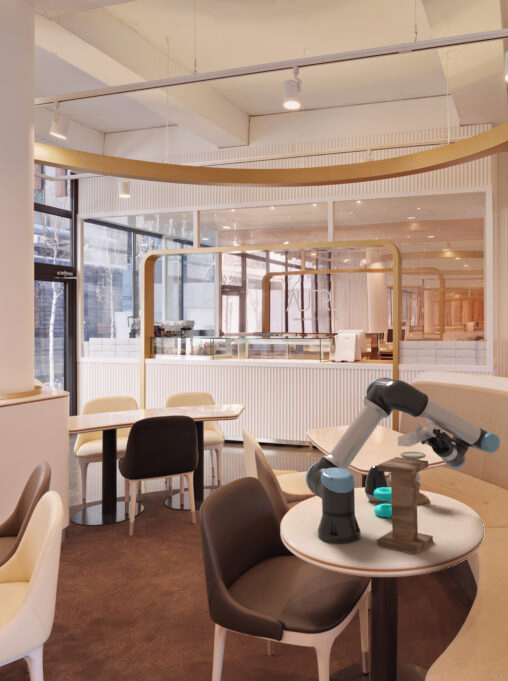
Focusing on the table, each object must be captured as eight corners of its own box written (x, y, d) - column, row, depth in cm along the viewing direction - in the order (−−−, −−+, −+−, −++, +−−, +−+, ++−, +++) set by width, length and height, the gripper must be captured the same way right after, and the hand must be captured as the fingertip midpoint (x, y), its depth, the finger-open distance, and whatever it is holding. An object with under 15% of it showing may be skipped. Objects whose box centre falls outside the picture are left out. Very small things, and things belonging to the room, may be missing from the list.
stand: (416, 554, 188) (414, 469, 188) (377, 545, 197) (375, 464, 197) (432, 541, 199) (431, 461, 199) (395, 533, 208) (393, 456, 208)
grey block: (408, 446, 197) (408, 438, 197) (398, 445, 200) (397, 436, 200) (436, 435, 216) (436, 427, 216) (426, 434, 218) (425, 426, 218)
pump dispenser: (379, 505, 241) (378, 469, 241) (360, 500, 249) (359, 465, 249) (394, 500, 248) (393, 465, 248) (374, 495, 256) (373, 461, 256)
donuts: (369, 487, 233) (392, 485, 235) (370, 512, 233) (392, 509, 235) (380, 494, 223) (403, 492, 226) (381, 519, 223) (404, 517, 226)
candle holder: (408, 506, 240) (407, 458, 239) (394, 497, 252) (393, 452, 251) (434, 503, 243) (433, 455, 242) (419, 495, 255) (418, 450, 254)
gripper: (464, 460, 220) (443, 438, 204) (422, 455, 231) (399, 434, 215) (467, 441, 223) (447, 418, 207) (425, 437, 234) (402, 415, 218)
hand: (422, 426), depth 211 cm, fingers closed on grey block, 4 cm apart
